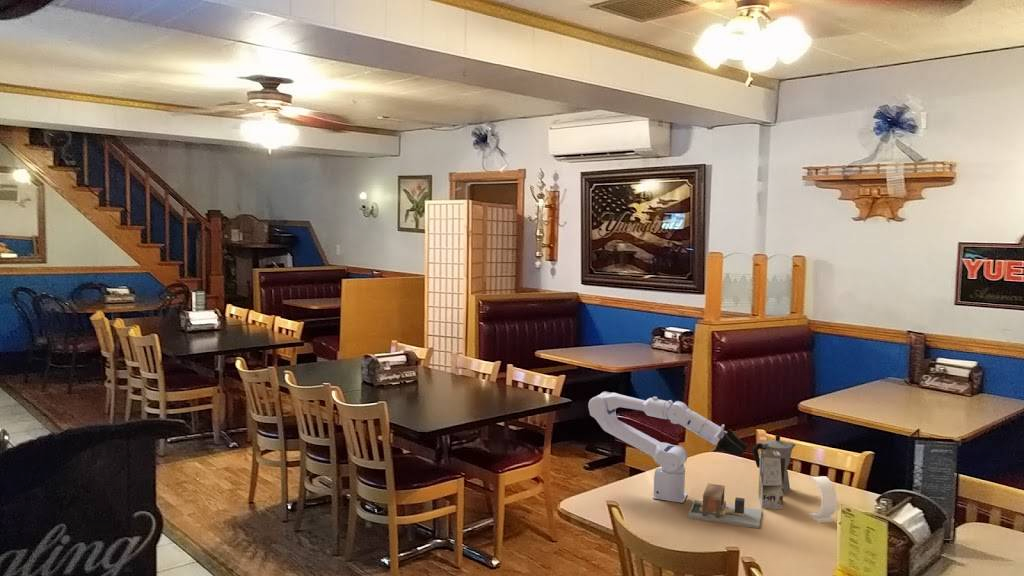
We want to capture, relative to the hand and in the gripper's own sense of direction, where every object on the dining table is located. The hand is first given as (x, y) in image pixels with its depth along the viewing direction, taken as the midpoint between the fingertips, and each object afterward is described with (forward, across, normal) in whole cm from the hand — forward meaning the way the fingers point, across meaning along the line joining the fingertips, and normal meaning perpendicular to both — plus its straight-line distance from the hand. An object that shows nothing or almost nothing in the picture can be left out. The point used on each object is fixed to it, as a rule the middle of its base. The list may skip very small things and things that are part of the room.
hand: (744, 451), depth 226 cm
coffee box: (+14, +12, +13) cm, 22 cm away
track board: (+4, -4, +19) cm, 20 cm away
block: (0, -4, +19) cm, 19 cm away
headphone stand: (+28, +6, +7) cm, 29 cm away
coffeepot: (+12, +26, +12) cm, 31 cm away
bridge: (+1, -4, +20) cm, 21 cm away
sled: (+3, -4, +18) cm, 19 cm away
